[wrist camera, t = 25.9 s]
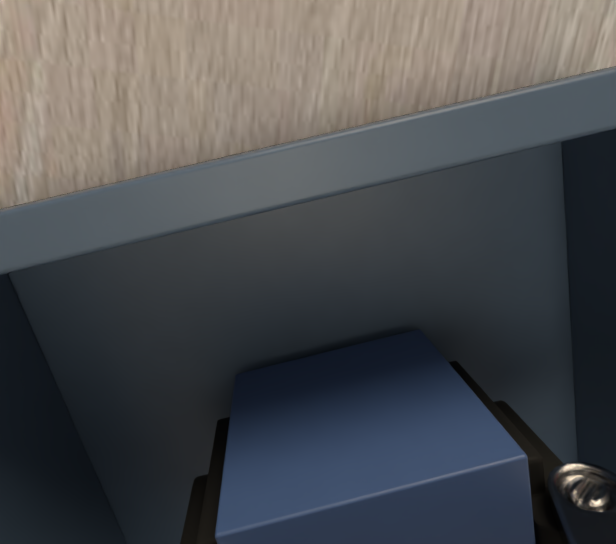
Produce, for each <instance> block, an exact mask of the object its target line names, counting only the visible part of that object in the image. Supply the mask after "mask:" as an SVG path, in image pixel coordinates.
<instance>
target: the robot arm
mask: <svg viewBox="0 0 616 544" xmlns="http://www.w3.org/2000/svg"><path fill="white" fill-rule="evenodd" d="M448 363H449V364H450V365H451V366H452V367H453V368H454V370H455V371H456V372H457V373H458V374H459V376H460V377H461V378H462V379H463V380H464V381H465V383H466V384H467V385H468V386H469V387H470V389H471V390H472V391H473V392H474V393H475V394H476V396H477V397H478V398H479V399H480V400H481V402H482V403H483V404H484V405H485V406H486V407H487V409H488V410H489V411H490V412H491V413H492V415H493V416H494V417H495V418H496V419H497V420H498V422H499V423H500V424H501V425H502V426H503V428H504V429H505V430H506V431H507V432H508V433H509V435H510V436H511V437H512V438H513V439H514V441H515V442H516V443H517V444H518V445H519V446H520V448H521V449H522V450H523V451H524V452H525V453H526V455H527V457H528V467H529V478H530V489H531V500H532V511H533V522H534V532H535V543H536V544H616V474H615V473H613V472H612V471H610V470H608V469H606V468H603V467H601V466H599V465H595V464H591V463H586V462H570V463H563V462H562V461H561V460H560V459H559V458H558V457H557V456H556V455H555V454H554V453H553V452H552V451H551V450H550V449H549V447H548V446H547V445H546V444H545V443H544V442H543V441H542V440H541V439H540V438H539V437H538V436H537V435H536V434H535V433H534V431H533V430H532V429H531V428H530V427H529V426H528V425H527V424H526V423H525V422H524V421H523V420H522V419H521V418H520V417H519V415H518V414H517V413H516V412H515V411H514V410H513V409H512V408H511V407H510V406H509V405H508V404H507V403H506V402H505V401H502V400H499V401H495V402H493V401H492V400H491V399H490V397H489V396H488V395H487V394H486V393H485V392H484V391H483V390H482V388H481V387H480V386H479V385H478V384H477V383H476V382H475V381H474V379H473V378H472V377H471V376H470V375H469V374H468V373H467V372H466V370H465V369H464V368H463V367H462V366H461V365H460V364H459V363H458V362H457V361H452V362H448ZM229 421H230V417H227V418H223V419H219V420H218V421H217V426H216V431H215V437H214V443H213V449H212V455H211V460H210V466H209V472H208V474H206V475H202V476H198V477H196V478H195V479H194V482H193V486H192V490H191V495H190V500H189V504H188V509H187V514H186V519H185V523H184V528H183V533H182V537H181V542H180V544H217V541H216V539H215V529H216V522H217V514H218V506H219V498H220V491H221V483H222V475H223V467H224V460H225V452H226V444H227V436H228V429H229Z"/></svg>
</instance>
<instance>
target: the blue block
mask: <svg viewBox="0 0 616 544" xmlns="http://www.w3.org/2000/svg"><path fill="white" fill-rule="evenodd" d="M215 539H216V541H217V544H536V543H535V532H534V522H533V511H532V500H531V489H530V478H529V467H528V457H527V455H526V453H525V452H524V451H523V450H522V449H521V448H520V446H519V445H518V444H517V443H516V442H515V441H514V439H513V438H512V437H511V436H510V435H509V433H508V432H507V431H506V430H505V429H504V428H503V426H502V425H501V424H500V423H499V422H498V420H497V419H496V418H495V417H494V416H493V415H492V413H491V412H490V411H489V410H488V409H487V407H486V406H485V405H484V404H483V403H482V402H481V400H480V399H479V398H478V397H477V396H476V394H475V393H474V392H473V391H472V390H471V389H470V387H469V386H468V385H467V384H466V383H465V381H464V380H463V379H462V378H461V377H460V376H459V374H458V373H457V372H456V371H455V370H454V368H453V367H452V366H451V365H450V364H449V363H448V361H447V360H446V359H445V358H444V357H443V356H442V354H441V353H440V352H439V351H438V350H437V348H436V347H435V346H434V345H433V344H432V343H431V341H430V340H429V339H428V338H427V337H426V335H425V334H424V333H423V332H422V331H421V330H420V329H418V330H414V331H410V332H406V333H402V334H398V335H394V336H390V337H386V338H382V339H377V340H373V341H369V342H365V343H361V344H357V345H353V346H349V347H345V348H341V349H337V350H333V351H329V352H325V353H321V354H317V355H313V356H309V357H305V358H301V359H297V360H293V361H288V362H284V363H280V364H276V365H272V366H268V367H264V368H260V369H256V370H252V371H248V372H244V373H240V374H237V375H235V382H234V390H233V398H232V405H231V413H230V421H229V429H228V436H227V444H226V452H225V460H224V467H223V475H222V483H221V491H220V498H219V506H218V514H217V522H216V529H215Z"/></svg>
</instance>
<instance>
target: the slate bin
mask: <svg viewBox="0 0 616 544" xmlns="http://www.w3.org/2000/svg"><path fill="white" fill-rule="evenodd" d="M418 329H420V330H421V331H422V332H423V333H424V334H425V335H426V337H427V338H428V339H429V340H430V341H431V343H432V344H433V345H434V346H435V347H436V348H437V350H438V351H439V352H440V353H441V354H442V356H443V357H444V358H445V359H446V360H447V361H448V362H452V361H457V362H458V363H459V364H460V365H461V366H462V367H463V368H464V369H465V370H466V372H467V373H468V374H469V375H470V376H471V377H472V378H473V379H474V381H475V382H476V383H477V384H478V385H479V386H480V387H481V388H482V390H483V391H484V392H485V393H486V394H487V395H488V396H489V397H490V399H491V400H492V401H493V402H495V401H499V400H502V401H505V402H506V403H507V404H508V405H509V406H510V407H511V408H512V409H513V410H514V411H515V412H516V413H517V414H518V415H519V417H520V418H521V419H522V420H523V421H524V422H525V423H526V424H527V425H528V426H529V427H530V428H531V429H532V430H533V431H534V433H535V434H536V435H537V436H538V437H539V438H540V439H541V440H542V441H543V442H544V443H545V444H546V445H547V446H548V447H549V449H550V450H551V451H552V452H553V453H554V454H555V455H556V456H557V457H558V458H559V459H560V460H561V461H562V462H563V463H570V462H586V463H591V464H595V465H599V466H601V467H603V468H606V469H608V470H610V471H612V472H613V473H615V474H616V66H614V67H609V68H605V69H600V70H596V71H592V72H587V73H583V74H579V75H574V76H570V77H565V78H561V79H557V80H553V81H548V82H544V83H540V84H535V85H531V86H527V87H523V88H518V89H514V90H510V91H505V92H501V93H497V94H493V95H488V96H484V97H480V98H475V99H471V100H467V101H462V102H458V103H454V104H450V105H445V106H441V107H437V108H432V109H428V110H424V111H420V112H415V113H411V114H407V115H402V116H398V117H394V118H390V119H385V120H381V121H377V122H372V123H368V124H364V125H359V126H355V127H351V128H347V129H342V130H338V131H334V132H329V133H325V134H321V135H317V136H312V137H308V138H304V139H299V140H295V141H291V142H287V143H282V144H278V145H274V146H269V147H265V148H261V149H256V150H252V151H248V152H244V153H239V154H235V155H231V156H226V157H222V158H218V159H214V160H209V161H205V162H201V163H196V164H192V165H188V166H184V167H179V168H175V169H171V170H166V171H162V172H158V173H153V174H149V175H145V176H141V177H136V178H132V179H128V180H123V181H119V182H115V183H111V184H106V185H102V186H98V187H93V188H89V189H85V190H81V191H76V192H72V193H68V194H63V195H59V196H55V197H50V198H46V199H42V200H38V201H33V202H29V203H25V204H20V205H16V206H12V207H8V208H3V209H0V544H180V542H181V537H182V533H183V528H184V523H185V519H186V514H187V509H188V504H189V500H190V495H191V490H192V486H193V482H194V479H195V478H196V477H198V476H202V475H206V474H208V472H209V466H210V460H211V455H212V449H213V443H214V437H215V431H216V426H217V421H218V420H219V419H223V418H227V417H230V413H231V405H232V398H233V390H234V382H235V375H237V374H240V373H244V372H248V371H252V370H256V369H260V368H264V367H268V366H272V365H276V364H280V363H284V362H288V361H293V360H297V359H301V358H305V357H309V356H313V355H317V354H321V353H325V352H329V351H333V350H337V349H341V348H345V347H349V346H353V345H357V344H361V343H365V342H369V341H373V340H377V339H382V338H386V337H390V336H394V335H398V334H402V333H406V332H410V331H414V330H418Z"/></svg>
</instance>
